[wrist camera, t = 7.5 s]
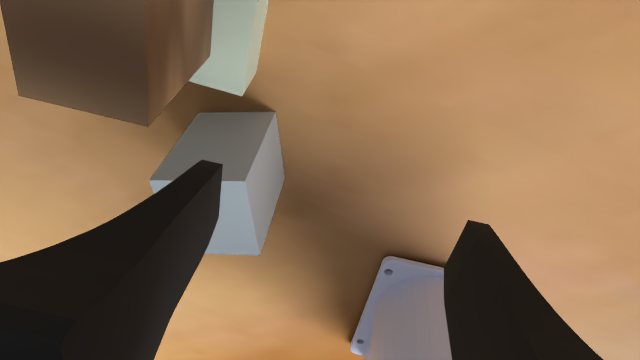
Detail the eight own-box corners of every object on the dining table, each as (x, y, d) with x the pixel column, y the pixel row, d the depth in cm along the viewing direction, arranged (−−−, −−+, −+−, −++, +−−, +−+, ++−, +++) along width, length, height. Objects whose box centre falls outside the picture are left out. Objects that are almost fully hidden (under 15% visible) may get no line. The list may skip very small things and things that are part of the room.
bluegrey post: (285, 177, 25) (259, 255, 21) (214, 177, 26) (173, 252, 21) (275, 111, 23) (245, 181, 18) (198, 112, 24) (149, 180, 19)
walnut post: (210, 56, 19) (148, 126, 14) (114, 32, 19) (18, 95, 14) (217, -50, 17) (145, -8, 12) (107, -77, 17) (-10, -46, 12)
